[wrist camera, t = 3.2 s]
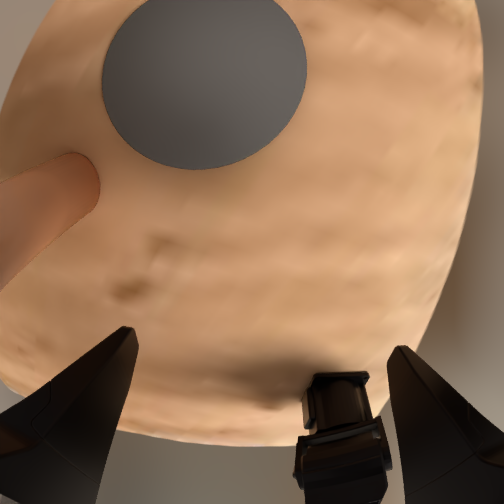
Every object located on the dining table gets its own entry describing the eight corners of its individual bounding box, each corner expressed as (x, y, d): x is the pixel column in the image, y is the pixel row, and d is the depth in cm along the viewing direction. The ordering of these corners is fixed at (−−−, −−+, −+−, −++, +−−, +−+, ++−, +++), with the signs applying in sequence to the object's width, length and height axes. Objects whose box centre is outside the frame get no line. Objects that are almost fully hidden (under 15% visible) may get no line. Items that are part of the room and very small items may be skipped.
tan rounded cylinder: (97, 150, 17) (-41, 221, 6) (103, 217, 20) (-3, 322, 9) (47, 155, 17) (-75, 219, 6) (55, 215, 20) (-46, 302, 9)
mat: (311, -9, 12) (313, -14, 11) (294, 174, 18) (295, 177, 17) (117, -2, 12) (112, -5, 11) (108, 166, 18) (102, 169, 17)
